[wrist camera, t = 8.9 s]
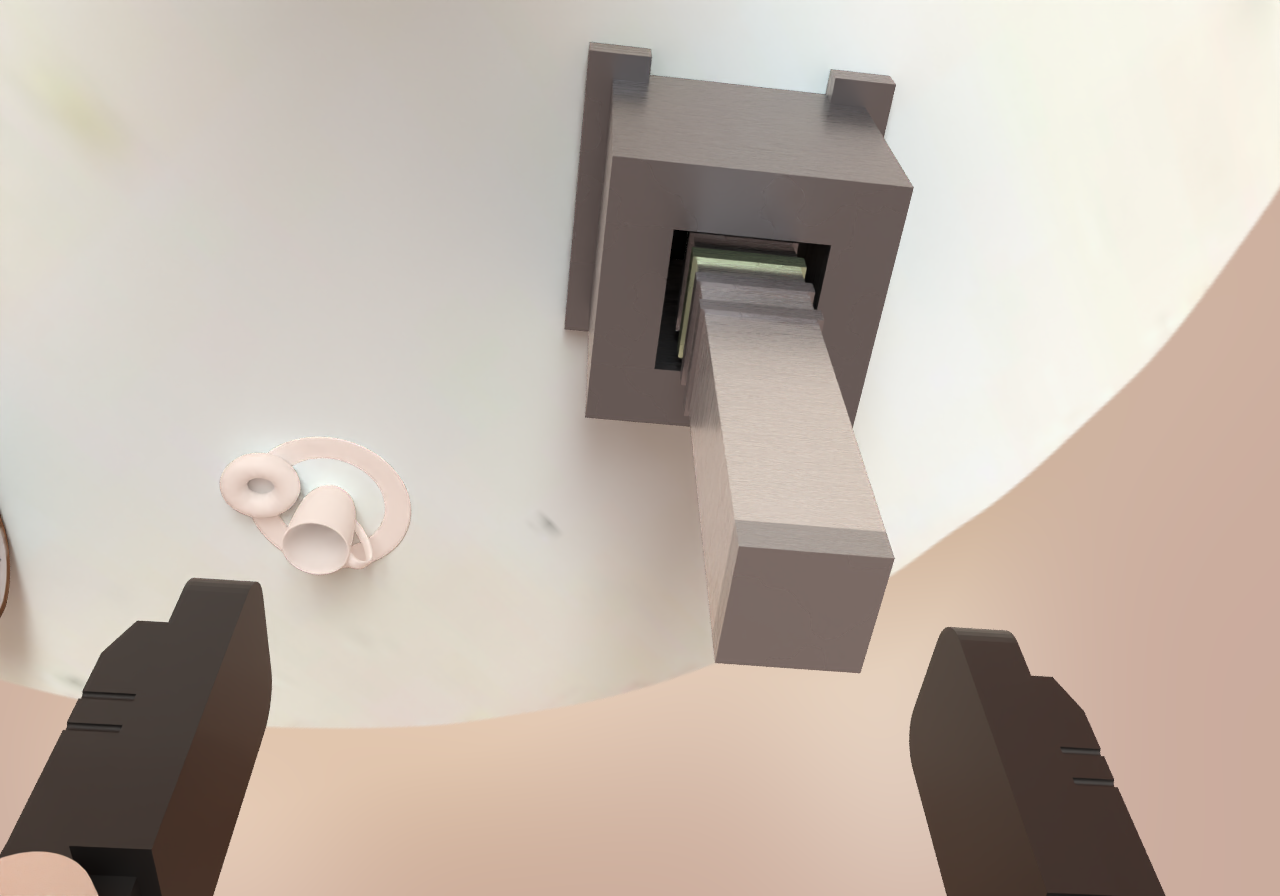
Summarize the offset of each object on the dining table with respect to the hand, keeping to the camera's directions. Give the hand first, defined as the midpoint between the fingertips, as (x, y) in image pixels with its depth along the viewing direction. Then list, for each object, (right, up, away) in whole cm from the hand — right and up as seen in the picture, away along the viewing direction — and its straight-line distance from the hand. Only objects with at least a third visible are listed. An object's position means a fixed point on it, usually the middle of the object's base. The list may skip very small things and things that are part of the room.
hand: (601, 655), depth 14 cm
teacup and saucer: (-15, +3, +42) cm, 45 cm away
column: (+4, +9, +29) cm, 31 cm away
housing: (+4, +13, +35) cm, 38 cm away
